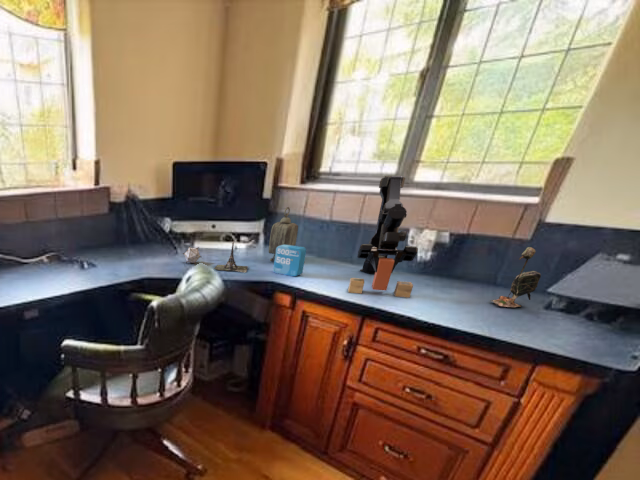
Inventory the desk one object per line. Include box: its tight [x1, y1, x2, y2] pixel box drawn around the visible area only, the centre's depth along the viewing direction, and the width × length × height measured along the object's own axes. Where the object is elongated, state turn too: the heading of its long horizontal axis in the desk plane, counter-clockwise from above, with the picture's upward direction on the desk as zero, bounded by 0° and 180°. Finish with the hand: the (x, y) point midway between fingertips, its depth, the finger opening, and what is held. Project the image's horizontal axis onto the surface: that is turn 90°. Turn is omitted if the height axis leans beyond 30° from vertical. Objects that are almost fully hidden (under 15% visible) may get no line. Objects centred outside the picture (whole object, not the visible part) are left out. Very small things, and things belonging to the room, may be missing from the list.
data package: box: [272, 244, 307, 277], centre depth 186 cm, size 12×4×12 cm, turn 42°
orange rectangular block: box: [371, 257, 394, 292], centre depth 158 cm, size 5×5×11 cm
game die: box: [182, 246, 202, 265], centre depth 209 cm, size 9×8×10 cm
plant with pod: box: [491, 246, 542, 308], centre depth 141 cm, size 8×11×20 cm
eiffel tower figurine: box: [213, 241, 249, 274], centre depth 196 cm, size 15×10×13 cm
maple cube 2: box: [393, 280, 414, 299], centre depth 157 cm, size 5×5×5 cm
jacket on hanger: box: [268, 206, 299, 262], centre depth 206 cm, size 14×9×25 cm, turn 144°
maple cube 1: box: [347, 277, 365, 294], centre depth 162 cm, size 5×5×5 cm
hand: (383, 272), depth 156 cm, fingers closed on orange rectangular block, 5 cm apart
